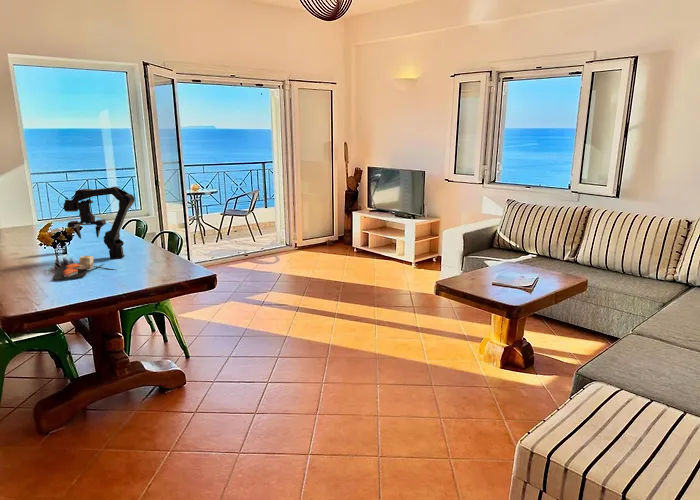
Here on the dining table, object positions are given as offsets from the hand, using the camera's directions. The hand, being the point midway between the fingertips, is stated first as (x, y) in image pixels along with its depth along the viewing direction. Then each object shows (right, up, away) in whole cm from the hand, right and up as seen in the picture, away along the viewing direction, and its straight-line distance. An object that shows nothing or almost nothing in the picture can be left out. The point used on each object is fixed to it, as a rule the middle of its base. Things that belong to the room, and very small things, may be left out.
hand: (89, 238), depth 277 cm
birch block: (+11, -16, -23) cm, 30 cm away
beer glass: (-26, -9, +17) cm, 32 cm away
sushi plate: (+12, -19, -22) cm, 31 cm away
